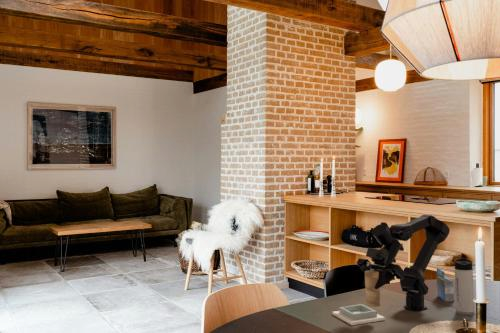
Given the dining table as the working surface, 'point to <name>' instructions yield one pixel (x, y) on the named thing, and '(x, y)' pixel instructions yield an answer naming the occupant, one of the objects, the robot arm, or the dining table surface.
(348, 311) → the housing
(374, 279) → the tan cylinder
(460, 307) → the travel mug
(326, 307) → the dining table surface
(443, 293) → the label tape box
